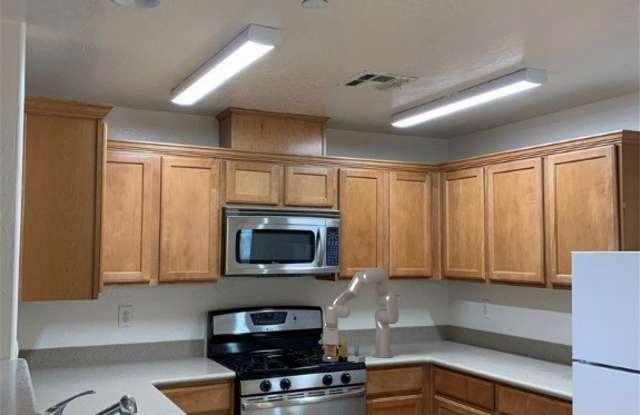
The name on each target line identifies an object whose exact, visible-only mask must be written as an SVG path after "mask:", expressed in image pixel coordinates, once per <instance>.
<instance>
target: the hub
mask: <svg viewBox="0 0 640 415" xmlns="http://www.w3.org/2000/svg"><path fill="white" fill-rule="evenodd" d="M339 358H340V357H339V356H338V355H337V356H336V357H333V356H325V355H324V354H323V355H322V362H326V363H337V362H339Z"/></svg>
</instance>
